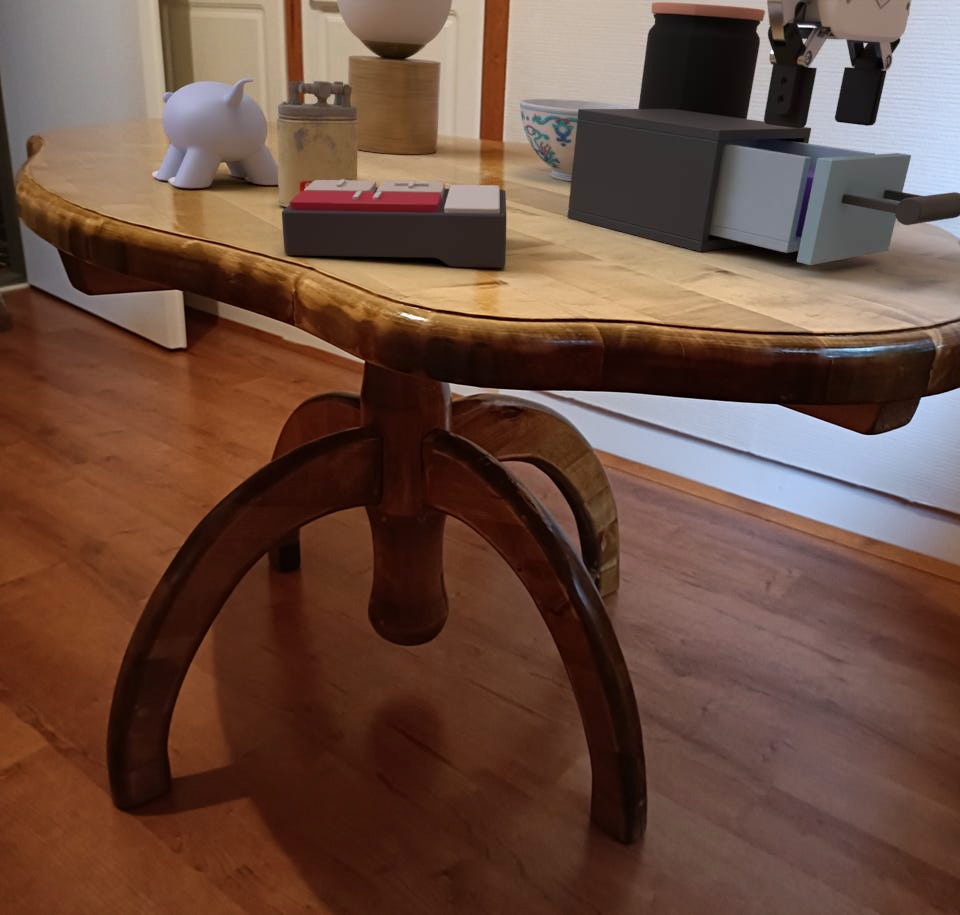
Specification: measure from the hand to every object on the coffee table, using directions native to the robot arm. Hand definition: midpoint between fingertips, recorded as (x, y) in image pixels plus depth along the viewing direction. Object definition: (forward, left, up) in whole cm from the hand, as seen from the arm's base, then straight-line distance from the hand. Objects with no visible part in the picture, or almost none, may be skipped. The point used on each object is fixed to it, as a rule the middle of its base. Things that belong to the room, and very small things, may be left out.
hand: (820, 124), depth 72 cm
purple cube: (0, 0, -8) cm, 8 cm away
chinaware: (-13, -36, -10) cm, 39 cm away
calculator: (+27, -16, -10) cm, 33 cm away
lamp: (-7, -64, -10) cm, 65 cm away
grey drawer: (0, +1, -9) cm, 9 cm away
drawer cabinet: (0, -12, -10) cm, 15 cm away
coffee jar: (-13, -22, -10) cm, 27 cm away
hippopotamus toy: (+26, -47, -10) cm, 54 cm away
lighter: (+24, -32, -10) cm, 41 cm away
